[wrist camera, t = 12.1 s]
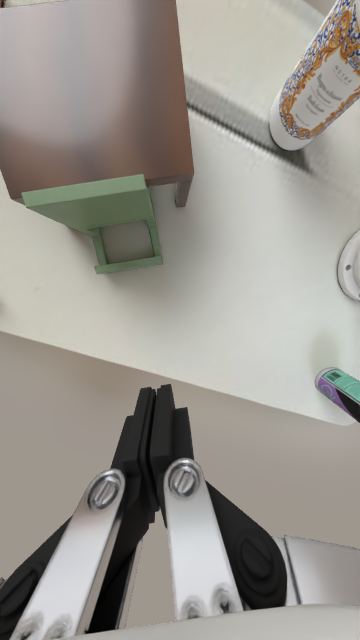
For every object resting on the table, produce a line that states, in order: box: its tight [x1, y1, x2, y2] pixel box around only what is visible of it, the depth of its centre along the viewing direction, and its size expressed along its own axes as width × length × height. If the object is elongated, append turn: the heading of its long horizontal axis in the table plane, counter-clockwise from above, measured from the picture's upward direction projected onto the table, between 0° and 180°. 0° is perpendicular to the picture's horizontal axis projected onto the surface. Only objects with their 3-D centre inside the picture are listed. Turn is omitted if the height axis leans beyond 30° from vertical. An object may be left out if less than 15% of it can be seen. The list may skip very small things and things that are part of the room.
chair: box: [21, 174, 163, 274], centre depth 19 cm, size 9×14×13 cm, turn 9°
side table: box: [0, 0, 194, 207], centre depth 19 cm, size 17×12×9 cm
